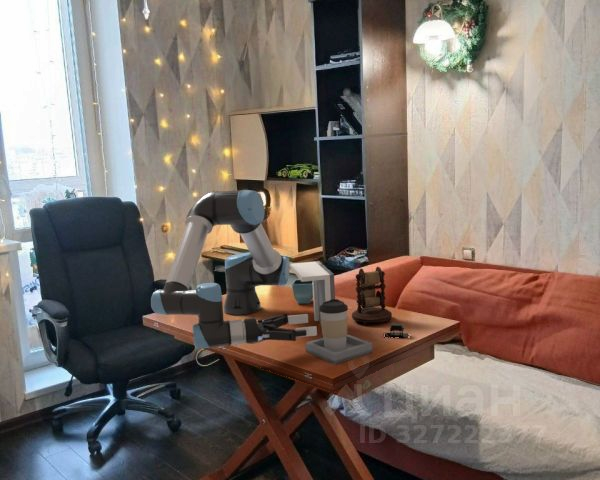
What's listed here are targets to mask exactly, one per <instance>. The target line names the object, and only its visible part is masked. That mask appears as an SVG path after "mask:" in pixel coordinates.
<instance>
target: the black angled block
mask: <svg viewBox="0 0 600 480" xmlns="http://www.w3.org/2000/svg"><path fill="white" fill-rule="evenodd" d="M389 328H390V329H389V332H385V333H386V334H385V337H388V338H387V339H396V338H395V337H399V338H398V339H404V338H408V336H409V335H408V333H409V332H404V329H405V327H404V325H403V323H402V322H398V323H396V322H391V324H390V327H389ZM395 331H397V332H395ZM385 337H384V338H383V339H386V338H385ZM389 337H390V338H389ZM391 337H393V338H391Z"/></svg>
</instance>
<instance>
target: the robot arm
mask: <svg viewBox="0 0 600 480" xmlns="http://www.w3.org/2000/svg"><path fill="white" fill-rule="evenodd" d="M265 210H266V209H265V206H264V199H263V198H262V196H261V194H260V193H259V192H257V191H256V190H249V189H240V190H220V191H219V190H216V191H211V192H208V193H206V194H205V195H203V196H201V197H200V198H198V199H197V201H195V203H194V204H193V205H192V207H191V208H190V209H189V211H188V213H187V215H186V217H185V221H184V226H185V228H184V232H183V235H182V236H181V240H180V242H179V246H178V249H177V251H176V253H175V256H174V259H173V261H172V265H171V267H170V270H169V273H168V276H167V278H166V281H165V283H164V286H163V288H162V289H156V290H155V291H154V292H153V293H152V294H151V296H150V297H151V298H150V306H151V309H152V311H153V312H154V313H155V314H157V315H164V316H165V315H166V316H168V315H169V316H171V315H175V316H176V315H178V316H179V315H182V316H183V315H184V316H197V319H198V323H195V324H192V335H193V345H194V347H195V348H196V349H211V348H219V347H227V346H235V347H238V345H243V344H245V343H246V344H248V345H249V344H250V343H253V344H256V343H259V342H258V337H259V336H260V337H261V336H262V341H288V342H289V341H291V342H292V341H293V342H296V341H297V339H298V338H305V337H313V336H314V337H315V336H318V332H317V331H318V329H317V326H316V325H313V326H304V327H303V326H302V327H295V328H294V329H293V328H283V326H285V325H287V324H288V326H289V325H298V324H308V323H309V314H308V313H305V314H293V315H288V313H285V312H284V313H283V314H278V315H275V316H271V317H267V318H263V319H256V318H254V317H251V318H245V319H244V320H242V318H240V319H230V320H224V319H225V318H224V313H225V314H227V315H235V316H240V315H242V316H243V315H250V314H254V313H257V312H259V311H260V310H261V308H262V305H261V301H260V298H259V297H258V293H257V291H256V286H277V287H279V286H286V285H287V284H288V281H289V277H290V269H291V268H290V264H291V263H290V259H289V257H288V256H286V255H281V254H280V252H279V251H278V250H277V249H274V247H273V245H272V243H271V241H270V239H269V236H268V234H267V232H266V230H265V228H264V227H263V226H264V225H263V224H262V223H263V220H264V219H265V213H266V212H265ZM224 225H225V226H230V227H231V229H232V230H233V231H234V232H235V233H236V234H239V235H240V237H241V239H242V241H243V242H244V244H245V245H246V248H247V250H248V252H242V253H236V254H233V255H229V256H228V257H226V258H225V259H224V272H225V284H226V296H225V300H224V303H223V299H224V298H223V296H222V295H223V294H222V288H221V285H220V284H219V283H216V282H203V283H200V284H197V286H196V287H195V290H194V289H193V290H192V289H190V287H191V284H192V281H193V279H194V275H195V272H196V269H197V267H198V263H199V260H200V257H201V255H202V251H203V248H204V245H205V242H206V240H207V236H208V234H211V232H213V228H214V227H215V226H224Z"/></svg>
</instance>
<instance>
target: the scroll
mask: <svg viewBox="0 0 600 480" xmlns="http://www.w3.org/2000/svg"><path fill="white" fill-rule="evenodd" d="M385 275H386V272H385V271H383V270H382V269H381V267H380V266H377V267H376V268H375V271H366V272H365V271H364V269H363V268H360V269H359V271H358V273H357V274H355V280H356V287H355V291H356V294H357V295H356V298H357V299H356V303H357V304H356V306H357V309H356V310H355V311H353V312H352V313H351V318H352V320H354V321H356V322H359V323H360V322H362V323H363V325H364V326H366V325H367V323H380V322H385V321H387V323H390V321H391V319H392V318H393V314H392V312H391V311H390V310H389V309H387V308H386V301H385V300H386V298H387V297H386V293H385V290H386V284H385ZM379 283H380V284H379ZM379 289H380V290H381V291H379ZM376 290H377V291H376Z"/></svg>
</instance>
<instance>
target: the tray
mask: <svg viewBox="0 0 600 480" xmlns="http://www.w3.org/2000/svg"><path fill="white" fill-rule="evenodd" d="M305 352H306V353H308V354H309V355H312V356H315V357H318V358H320V359H322V360H324V361H327V362H329V363H330V364H334V365H337V364H338V365H339V364H341V363H343V362H347V361H349V360H353V359H356V358H359V356H360V357H362V355H363V356H366V355H369V354H372V353H373V343H372V342H370V341H367V340H364V339H361V338H358V337H356V336H353V335H350V334H348V333H347V336H346V348H345V349H343V350H339V351H331V350H328V349H326V348H325V346H324V338H323V337H321V338H317V339H315V340H310V341H307V342H305Z"/></svg>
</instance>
